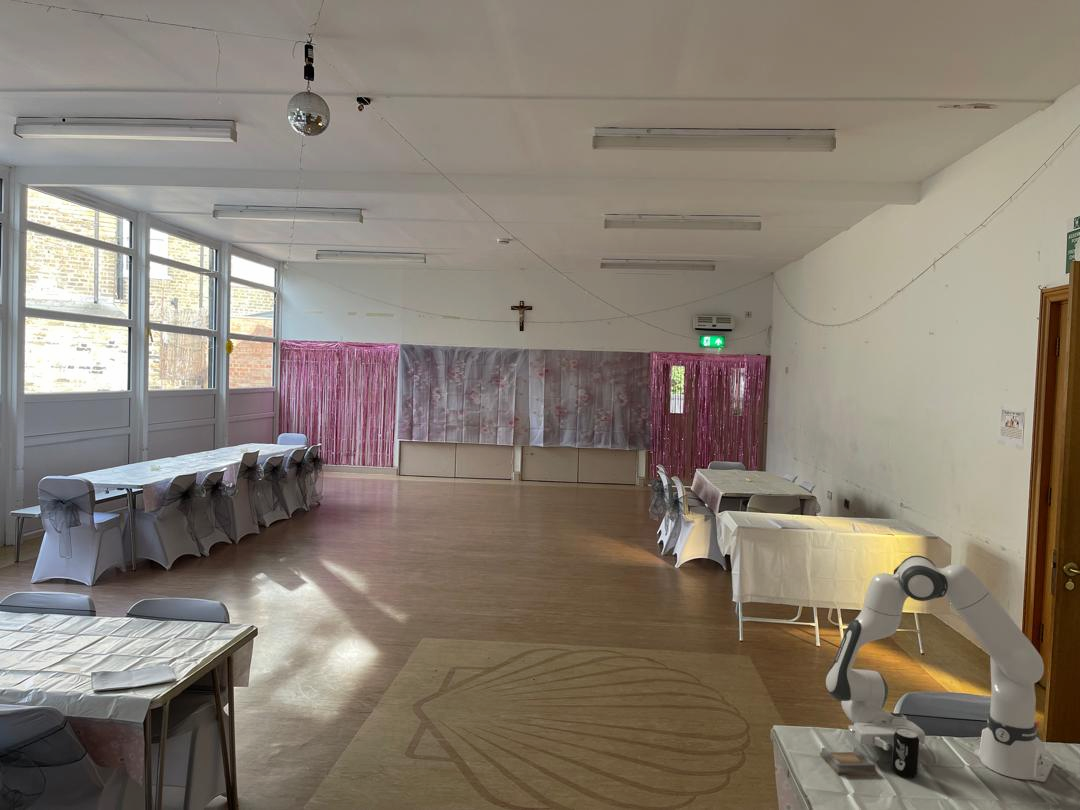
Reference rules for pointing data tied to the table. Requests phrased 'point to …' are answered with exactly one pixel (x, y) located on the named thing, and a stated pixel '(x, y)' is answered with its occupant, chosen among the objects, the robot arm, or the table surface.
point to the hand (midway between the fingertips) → (903, 747)
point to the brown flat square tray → (849, 762)
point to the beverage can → (905, 752)
